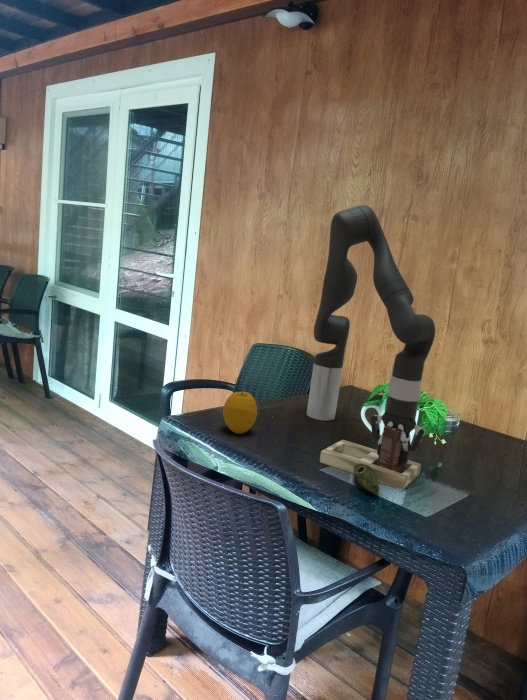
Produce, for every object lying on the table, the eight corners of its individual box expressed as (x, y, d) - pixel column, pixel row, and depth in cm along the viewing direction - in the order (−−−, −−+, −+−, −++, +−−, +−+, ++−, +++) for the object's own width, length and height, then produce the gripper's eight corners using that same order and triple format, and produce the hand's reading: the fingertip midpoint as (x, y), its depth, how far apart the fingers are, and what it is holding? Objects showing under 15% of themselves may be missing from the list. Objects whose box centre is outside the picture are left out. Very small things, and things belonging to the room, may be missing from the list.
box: (388, 466, 147) (397, 422, 144) (403, 473, 143) (412, 428, 141) (374, 470, 143) (383, 425, 140) (389, 478, 139) (398, 431, 137)
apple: (231, 423, 168) (236, 384, 165) (260, 431, 164) (265, 392, 161) (214, 431, 159) (219, 390, 157) (244, 440, 155) (250, 398, 153)
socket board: (340, 449, 157) (342, 439, 156) (419, 475, 146) (421, 464, 145) (319, 462, 146) (321, 451, 145) (402, 490, 135) (404, 478, 134)
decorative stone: (337, 480, 136) (340, 461, 135) (357, 475, 141) (360, 456, 140) (373, 500, 128) (377, 479, 127) (394, 493, 133) (397, 473, 132)
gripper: (370, 390, 140) (359, 456, 143) (427, 405, 132) (414, 474, 135) (381, 386, 146) (370, 448, 149) (436, 400, 139) (424, 465, 142)
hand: (391, 460), depth 142 cm, fingers closed on box, 5 cm apart
